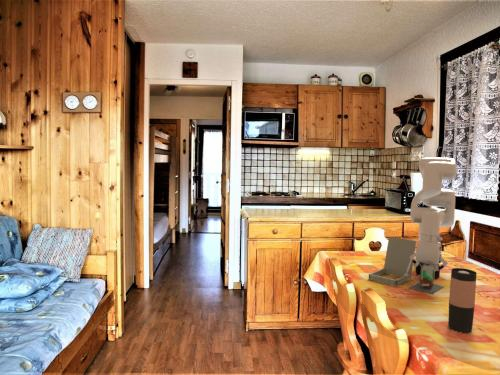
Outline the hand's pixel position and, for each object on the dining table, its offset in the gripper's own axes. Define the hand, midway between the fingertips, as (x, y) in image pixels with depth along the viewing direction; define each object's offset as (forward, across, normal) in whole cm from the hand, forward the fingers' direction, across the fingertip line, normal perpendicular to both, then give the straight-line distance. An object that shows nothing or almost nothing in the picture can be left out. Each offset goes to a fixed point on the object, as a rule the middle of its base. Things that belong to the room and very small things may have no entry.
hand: (427, 276), depth 177 cm
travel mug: (+5, -24, +37) cm, 45 cm away
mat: (+5, 0, 0) cm, 5 cm away
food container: (+4, -1, 0) cm, 4 cm away
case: (+5, +17, -2) cm, 18 cm away
